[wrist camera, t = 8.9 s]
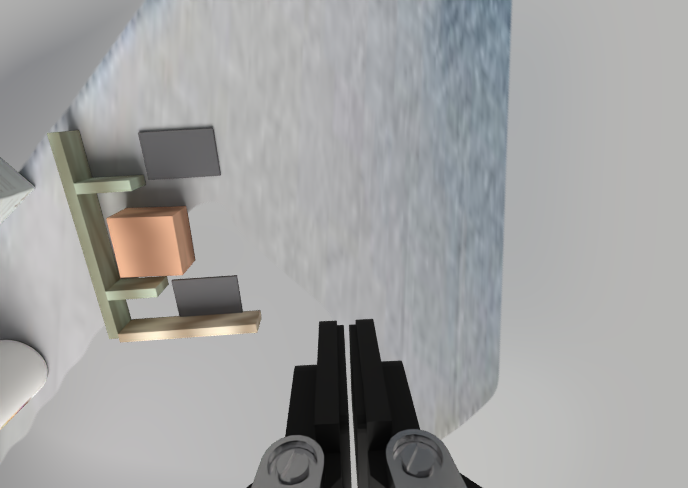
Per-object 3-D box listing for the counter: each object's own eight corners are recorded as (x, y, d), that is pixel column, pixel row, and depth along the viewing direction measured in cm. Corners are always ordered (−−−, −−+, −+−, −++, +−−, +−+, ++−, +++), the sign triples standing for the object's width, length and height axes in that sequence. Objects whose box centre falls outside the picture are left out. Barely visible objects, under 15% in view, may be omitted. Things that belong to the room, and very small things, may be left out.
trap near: (213, 128, 37) (212, 128, 37) (220, 175, 38) (219, 175, 38) (139, 132, 37) (137, 132, 36) (149, 179, 38) (148, 179, 38)
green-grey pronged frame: (233, 121, 37) (225, 122, 34) (261, 318, 44) (257, 332, 41) (68, 130, 36) (46, 133, 34) (124, 327, 44) (110, 343, 41)
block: (186, 205, 40) (172, 216, 36) (195, 259, 42) (182, 275, 38) (127, 207, 39) (106, 218, 36) (138, 261, 41) (120, 277, 38)
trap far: (236, 275, 42) (236, 276, 42) (242, 311, 44) (242, 312, 43) (172, 279, 42) (171, 280, 42) (180, 315, 44) (179, 317, 43)
